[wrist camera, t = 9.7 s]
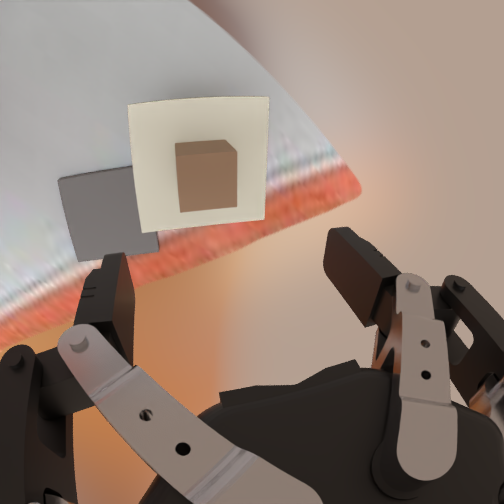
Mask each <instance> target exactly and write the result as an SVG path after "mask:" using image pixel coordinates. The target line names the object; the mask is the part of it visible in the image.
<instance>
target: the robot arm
mask: <svg viewBox="0 0 504 504" xmlns="http://www.w3.org/2000/svg"><path fill="white" fill-rule="evenodd" d="M323 266H324V271H325V273H326V275H327V277H328V278H329V279H330V281H331V282H332V283H333V284H334V286H335V287H336V289H337V290H338V291H339V293H340V294H341V295H342V297H343V298H344V299H345V301H346V302H347V303H348V305H349V306H350V308H351V309H352V310H353V312H354V313H355V314H356V316H357V317H358V319H359V320H360V321H361V323H362V324H363V325H364V327H369V326H372V325H375V324H377V325H378V328H377V331H376V335H375V343H374V351H373V359H372V365H371V368H360V367H359V365H358V363H357V362H356V360H355V359H354V360H351V361H348V362H345V363H341V364H338V365H335V366H331V367H328V368H325V369H323V370H322V371H320V372H318V373H316V374H315V375H313V376H311V377H309V378H307V379H306V380H304V381H302V382H300V383H298V384H295V385H276V386H275V385H274V386H252V387H246V388H241V389H236V390H230V391H225V392H220V393H219V396H220V403H218V404H216V405H214V406H212V407H210V408H208V409H206V410H205V411H204V412H202V413H201V414H199V415H198V416H197V417H196V416H195V415H194V414H193V413H191V412H190V411H189V410H188V409H187V408H185V407H184V406H183V405H182V404H181V403H179V402H178V401H177V400H176V399H175V398H173V397H172V396H171V395H170V394H169V393H168V392H167V391H165V390H164V389H163V388H162V387H161V386H160V385H159V384H158V383H157V382H155V381H154V380H153V379H152V378H151V377H150V376H149V375H148V374H147V373H146V372H144V371H143V370H142V369H141V368H140V367H139V366H137V365H135V366H134V367H133V340H134V311H135V293H134V287H133V283H132V279H131V275H130V271H129V267H128V263H127V259H126V255H125V253H124V252H119V253H112V254H105V255H104V258H103V262H102V266H101V269H93V270H92V272H91V273H90V274H89V275H88V276H87V278H86V279H85V283H84V286H83V290H82V293H81V298H80V301H79V304H78V308H77V312H76V316H75V320H74V325H73V327H71V328H69V329H68V330H66V331H65V332H64V333H63V334H62V335H61V337H60V338H59V341H58V345H57V347H55V348H53V349H50V350H47V351H44V352H41V353H38V354H35V352H34V351H33V349H32V348H31V347H29V346H27V345H17V346H14V347H12V348H10V349H9V350H8V351H7V352H6V353H5V354H4V356H3V357H2V359H1V361H0V504H78V500H77V492H76V483H75V471H74V455H73V413H75V412H77V411H80V410H83V409H86V408H89V407H92V406H96V407H97V409H98V410H99V411H100V412H101V414H102V415H103V416H104V417H105V419H106V420H107V421H108V422H109V423H110V425H111V426H112V427H113V428H114V429H115V431H116V432H117V433H118V434H119V435H120V436H121V437H122V438H123V439H124V441H125V442H126V443H127V444H128V445H129V446H130V447H131V448H132V449H133V450H134V451H135V452H136V453H137V455H138V456H139V457H140V458H141V459H142V460H143V461H144V462H145V463H146V464H147V465H148V466H149V467H150V468H151V469H152V470H153V471H155V472H156V473H157V476H156V477H155V479H154V480H153V482H152V484H151V485H150V487H149V488H148V490H147V491H146V493H145V494H144V496H143V497H142V499H141V501H140V502H139V504H504V320H503V318H502V317H501V316H500V315H499V314H498V313H497V312H496V311H495V310H494V308H493V307H492V306H491V305H490V304H489V303H488V302H487V301H486V300H485V299H484V298H483V297H482V296H481V295H480V294H479V293H478V292H477V291H476V290H475V289H474V287H473V286H472V285H470V283H468V282H467V281H466V280H464V279H463V278H461V277H459V276H455V275H449V276H447V277H446V278H445V279H444V282H443V284H442V286H429V284H428V283H427V282H426V281H425V280H424V279H423V278H422V277H420V276H418V275H415V274H412V273H403V274H402V273H401V272H400V271H399V270H398V269H397V268H396V267H395V266H394V265H393V264H392V263H391V262H390V261H389V260H388V259H387V258H386V257H383V254H381V253H380V252H379V251H377V249H376V248H375V247H374V246H373V245H372V244H371V243H370V242H368V241H366V240H364V239H362V238H360V237H359V236H358V235H357V234H356V233H355V232H353V231H352V230H351V229H350V228H349V227H339V228H331V229H330V230H329V232H328V236H327V242H326V248H325V254H324V260H323ZM460 319H461V320H462V321H463V322H464V323H465V325H466V326H467V327H468V328H469V330H470V331H471V332H472V334H473V337H474V341H473V344H472V346H471V348H470V349H468V348H467V347H466V345H465V344H464V343H463V342H462V340H461V339H460V338H459V337H458V335H457V334H456V333H455V331H454V329H455V327H456V325H457V323H458V321H459V320H460ZM450 379H451V381H452V382H453V384H454V385H455V387H456V388H457V390H458V392H459V393H460V395H461V396H462V398H463V399H464V401H465V402H466V404H467V406H468V407H469V408H468V407H465V406H463V405H460V404H458V403H456V402H454V401H451V397H450Z"/></svg>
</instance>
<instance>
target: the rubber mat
mask: <svg viewBox="0 0 504 504" xmlns="http://www.w3.org/2000/svg"><path fill="white" fill-rule="evenodd" d="M58 185H59V190H60V195H61V200H62V204H63V208H64V212H65V216H66V220H67V224H68V228H69V232H70V236H71V239H72V243H73V246H74V249H75V253H76V256H77V259H78V262H82V261H90V260H98V259H103V258H104V255H105V254H112V253H119V252H124V253H125V255H126V256H129V255H137V254H145V253H153V252H159V244H158V238H157V231H155V232H147V233H142V230H141V224H140V218H139V211H138V204H137V197H136V190H135V182H134V174H133V166H128V167H121V168H115V169H108V170H102V171H96V172H90V173H85V174H79V175H74V176H69V177H64V178H60V179H59V180H58Z"/></svg>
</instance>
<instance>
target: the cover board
mask: <svg viewBox="0 0 504 504" xmlns="http://www.w3.org/2000/svg"><path fill="white" fill-rule="evenodd" d="M268 117H269V97H265V96H223V97H198V98H183V99H171V100H161V101H151V102H143V103H136V104H129V105H128V121H129V134H130V146H131V156H132V165H133V174H134V182H135V190H136V197H137V204H138V211H139V218H140V224H141V230H142V233H147V232H155V231H163V230H171V229H180V228H188V227H197V226H206V225H216V224H225V223H235V222H245V221H255V220H264V217H265V194H266V170H267V144H268Z"/></svg>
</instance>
